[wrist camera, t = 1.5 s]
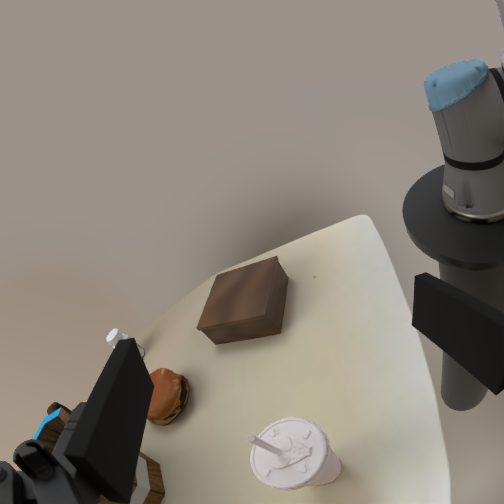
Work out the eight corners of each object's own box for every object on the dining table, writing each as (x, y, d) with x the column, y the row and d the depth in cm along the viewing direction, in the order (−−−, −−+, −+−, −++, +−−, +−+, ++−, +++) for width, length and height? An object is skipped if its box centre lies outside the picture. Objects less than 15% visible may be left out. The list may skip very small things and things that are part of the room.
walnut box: (289, 276, 50) (276, 255, 48) (281, 334, 41) (265, 314, 38) (231, 292, 56) (216, 274, 53) (214, 345, 46) (196, 328, 44)
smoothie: (298, 444, 26) (227, 398, 19) (355, 438, 23) (309, 391, 17) (291, 496, 21) (209, 476, 14) (352, 494, 18) (300, 484, 12)
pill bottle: (146, 346, 56) (121, 323, 52) (142, 362, 52) (115, 339, 49) (133, 351, 57) (108, 330, 53) (128, 367, 53) (102, 345, 50)
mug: (180, 495, 26) (81, 458, 19) (125, 538, 21) (31, 508, 13) (132, 416, 41) (65, 369, 34) (92, 457, 36) (25, 418, 29)
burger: (144, 427, 38) (123, 415, 36) (155, 382, 46) (137, 368, 44) (189, 425, 35) (167, 412, 33) (198, 374, 43) (179, 358, 41)
